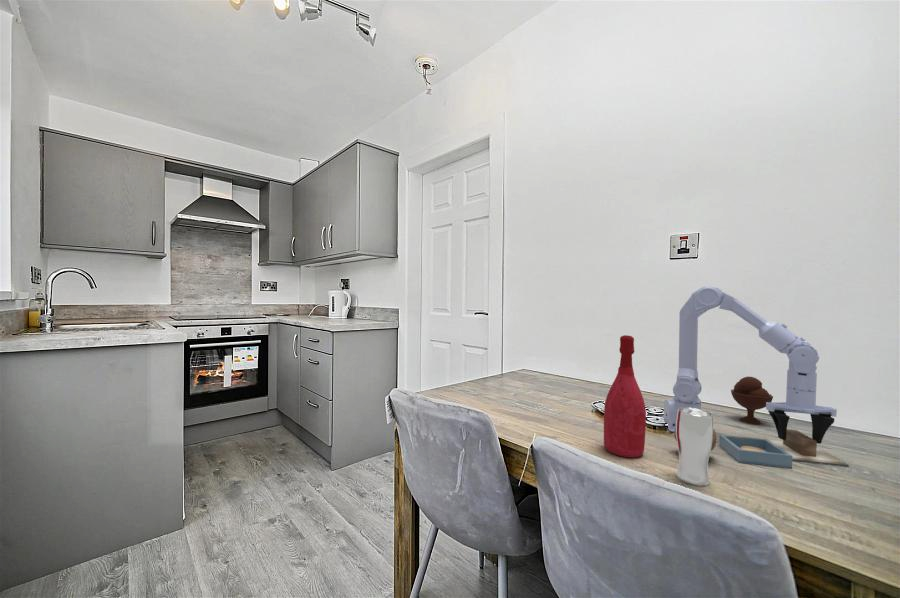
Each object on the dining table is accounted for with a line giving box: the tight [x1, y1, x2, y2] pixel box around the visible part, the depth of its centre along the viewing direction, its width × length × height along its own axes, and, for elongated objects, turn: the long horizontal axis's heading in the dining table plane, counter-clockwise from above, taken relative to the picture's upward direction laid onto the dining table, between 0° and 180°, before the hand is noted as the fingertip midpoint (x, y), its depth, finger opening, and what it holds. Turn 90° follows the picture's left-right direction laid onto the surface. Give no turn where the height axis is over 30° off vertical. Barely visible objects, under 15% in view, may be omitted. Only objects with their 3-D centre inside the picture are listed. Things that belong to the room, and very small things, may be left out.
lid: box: [767, 429, 845, 465], centre depth 101 cm, size 12×12×4 cm
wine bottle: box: [603, 334, 647, 458], centre depth 99 cm, size 10×10×30 cm
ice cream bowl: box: [730, 376, 774, 425], centre depth 127 cm, size 11×11×15 cm
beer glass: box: [676, 407, 714, 487], centre depth 85 cm, size 7×7×15 cm
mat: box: [792, 448, 850, 468], centre depth 101 cm, size 14×12×1 cm
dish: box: [718, 434, 793, 469], centre depth 98 cm, size 11×11×3 cm
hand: (799, 440), depth 101 cm, fingers open, 7 cm apart
